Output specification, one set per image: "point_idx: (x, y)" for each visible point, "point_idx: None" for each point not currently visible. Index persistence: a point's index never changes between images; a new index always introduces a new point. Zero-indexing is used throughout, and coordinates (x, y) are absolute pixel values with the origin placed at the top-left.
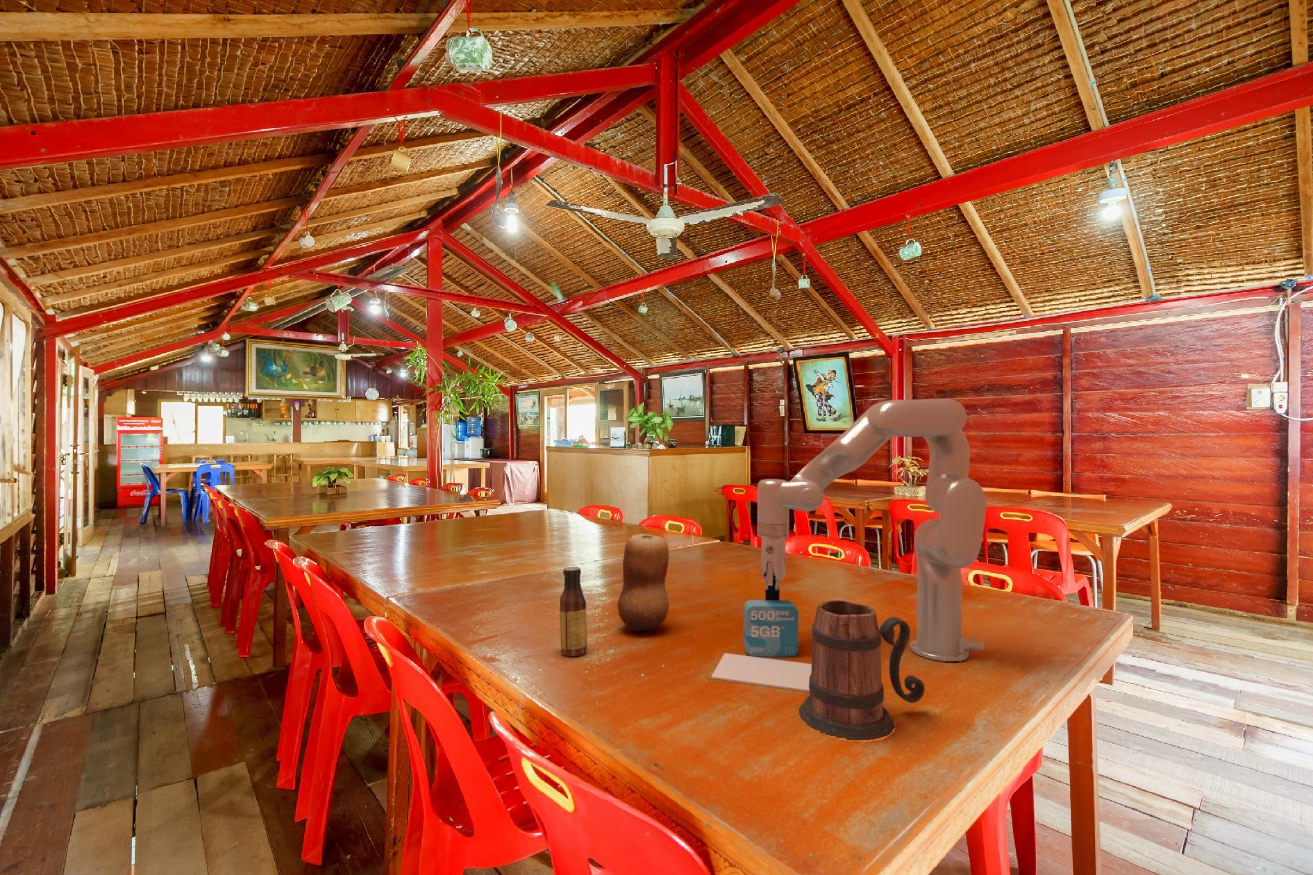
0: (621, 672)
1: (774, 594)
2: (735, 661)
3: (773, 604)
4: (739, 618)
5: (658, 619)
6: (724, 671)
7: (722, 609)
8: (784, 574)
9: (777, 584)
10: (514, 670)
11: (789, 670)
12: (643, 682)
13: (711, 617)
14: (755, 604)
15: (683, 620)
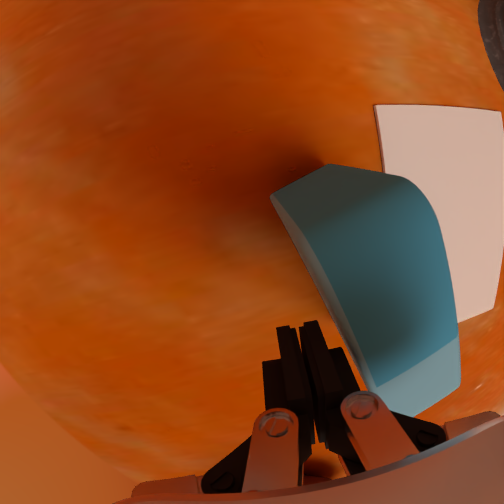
0: (471, 406)
1: (356, 385)
2: None
3: (438, 328)
4: (103, 392)
5: None
6: (475, 299)
7: (84, 424)
8: (344, 499)
9: (382, 430)
10: None
11: (441, 165)
12: (498, 370)
13: (145, 435)
14: (446, 385)
15: (203, 462)
